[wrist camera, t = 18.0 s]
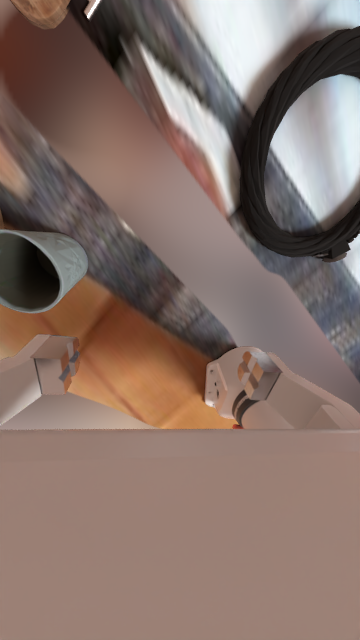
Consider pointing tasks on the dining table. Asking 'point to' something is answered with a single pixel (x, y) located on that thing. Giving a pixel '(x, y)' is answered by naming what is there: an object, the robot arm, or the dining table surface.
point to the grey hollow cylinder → (38, 269)
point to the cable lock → (307, 68)
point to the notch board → (1, 221)
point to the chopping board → (51, 11)
